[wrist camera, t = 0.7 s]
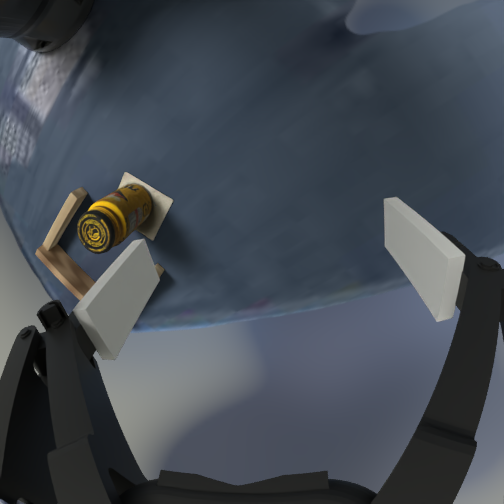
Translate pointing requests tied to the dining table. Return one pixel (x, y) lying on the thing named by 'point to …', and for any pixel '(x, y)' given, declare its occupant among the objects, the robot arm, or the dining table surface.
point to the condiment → (123, 215)
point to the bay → (57, 256)
